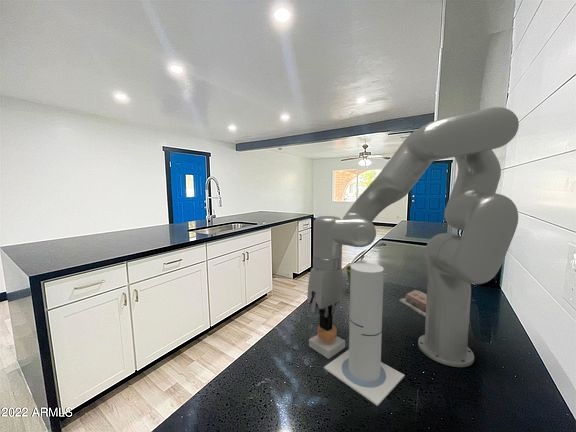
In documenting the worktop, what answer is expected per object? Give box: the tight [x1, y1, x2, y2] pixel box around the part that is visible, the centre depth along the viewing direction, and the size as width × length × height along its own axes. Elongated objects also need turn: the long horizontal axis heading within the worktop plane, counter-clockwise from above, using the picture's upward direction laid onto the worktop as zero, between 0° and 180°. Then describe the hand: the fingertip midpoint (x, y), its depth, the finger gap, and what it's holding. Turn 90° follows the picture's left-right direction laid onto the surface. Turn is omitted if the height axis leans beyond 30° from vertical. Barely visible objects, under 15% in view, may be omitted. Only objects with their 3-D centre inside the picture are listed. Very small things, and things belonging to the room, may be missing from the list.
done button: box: [316, 323, 338, 341], centre depth 67 cm, size 5×5×2 cm
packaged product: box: [398, 289, 427, 318], centre depth 89 cm, size 18×5×10 cm
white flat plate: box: [323, 349, 405, 407], centre depth 58 cm, size 12×14×1 cm
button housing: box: [308, 334, 346, 360], centre depth 68 cm, size 7×7×2 cm
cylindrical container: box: [348, 262, 385, 382], centre depth 57 cm, size 7×7×25 cm
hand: (325, 327), depth 67 cm, fingers closed
